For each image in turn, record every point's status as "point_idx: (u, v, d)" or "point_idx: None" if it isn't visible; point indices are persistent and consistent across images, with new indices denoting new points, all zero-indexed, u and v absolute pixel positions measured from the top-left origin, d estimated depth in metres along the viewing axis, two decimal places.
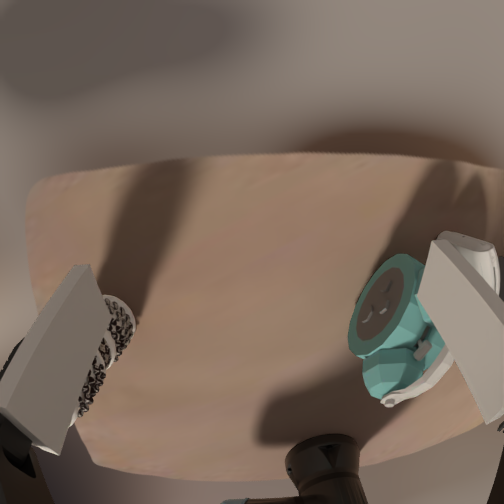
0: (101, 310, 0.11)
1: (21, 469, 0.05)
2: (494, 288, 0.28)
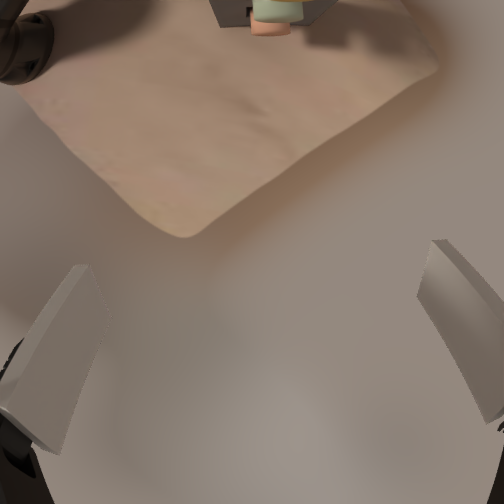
0: (101, 310, 0.11)
1: (21, 469, 0.05)
2: None
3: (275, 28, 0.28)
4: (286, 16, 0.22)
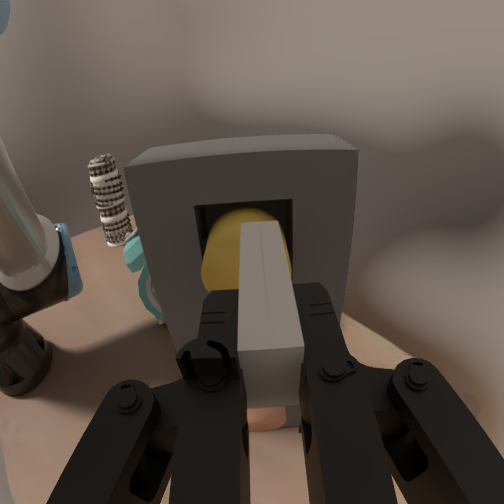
0: None
1: None
2: None
3: (263, 409, 0.25)
4: None
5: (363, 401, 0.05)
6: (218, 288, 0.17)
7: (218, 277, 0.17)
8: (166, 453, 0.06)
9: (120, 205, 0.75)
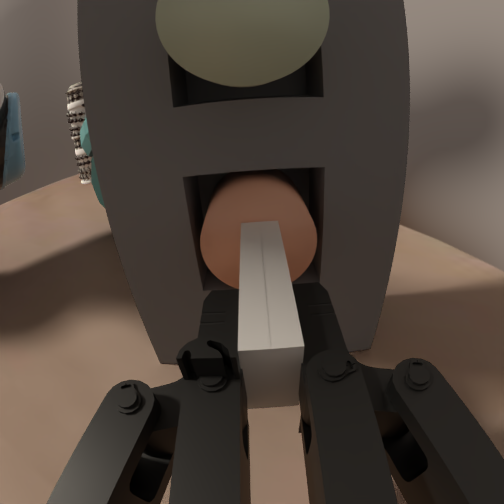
0: None
1: None
2: None
3: (263, 188, 0.12)
4: None
5: (363, 401, 0.05)
6: None
7: None
8: (166, 453, 0.06)
9: None
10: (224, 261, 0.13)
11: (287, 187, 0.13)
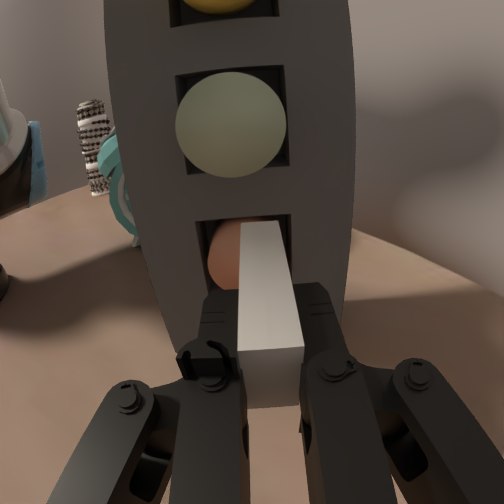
0: None
1: None
2: None
3: None
4: (243, 104, 0.12)
5: (363, 401, 0.05)
6: None
7: None
8: (166, 453, 0.06)
9: None
10: (223, 275, 0.20)
11: None
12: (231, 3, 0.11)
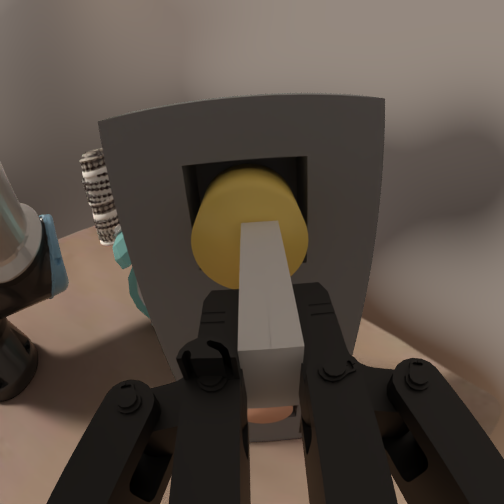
0: None
1: None
2: None
3: None
4: None
5: (363, 401, 0.05)
6: (213, 263, 0.13)
7: (213, 247, 0.13)
8: (166, 453, 0.06)
9: (113, 201, 0.70)
10: (247, 415, 0.24)
11: None
12: None
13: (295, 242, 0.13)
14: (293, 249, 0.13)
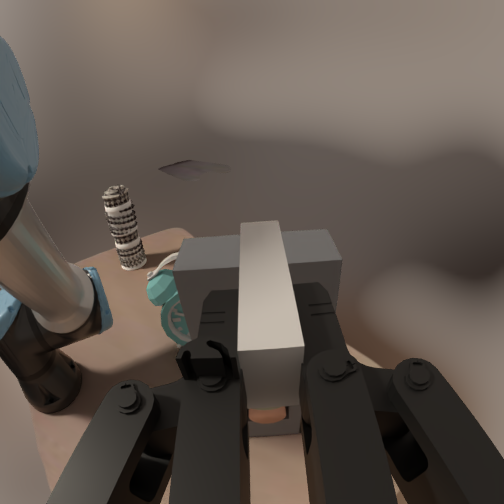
0: None
1: None
2: None
3: None
4: None
5: (363, 401, 0.05)
6: None
7: None
8: (166, 453, 0.06)
9: (134, 233, 0.82)
10: (256, 418, 0.36)
11: None
12: None
13: None
14: None
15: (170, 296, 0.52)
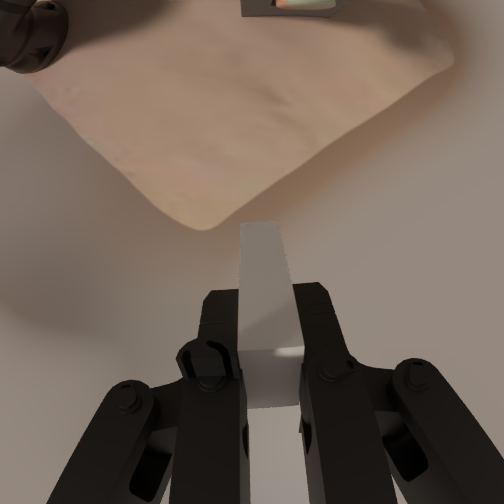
0: None
1: None
2: None
3: None
4: (319, 2, 0.21)
5: (363, 401, 0.05)
6: None
7: None
8: (166, 453, 0.06)
9: None
10: (283, 6, 0.29)
11: None
12: None
13: None
14: None
15: None
